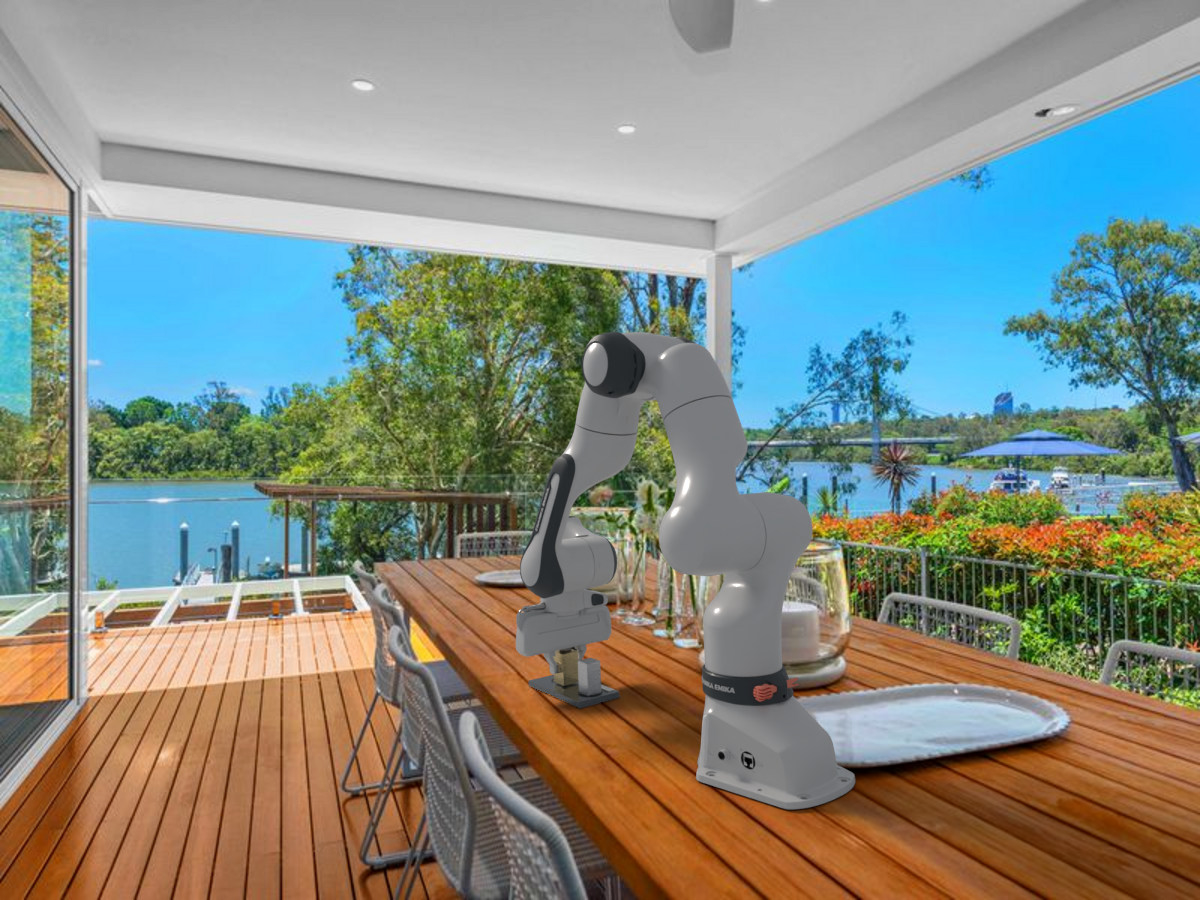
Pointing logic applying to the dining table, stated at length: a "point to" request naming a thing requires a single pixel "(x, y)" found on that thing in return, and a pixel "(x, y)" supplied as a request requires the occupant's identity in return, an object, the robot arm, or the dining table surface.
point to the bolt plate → (570, 692)
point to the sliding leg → (567, 666)
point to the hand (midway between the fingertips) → (566, 670)
